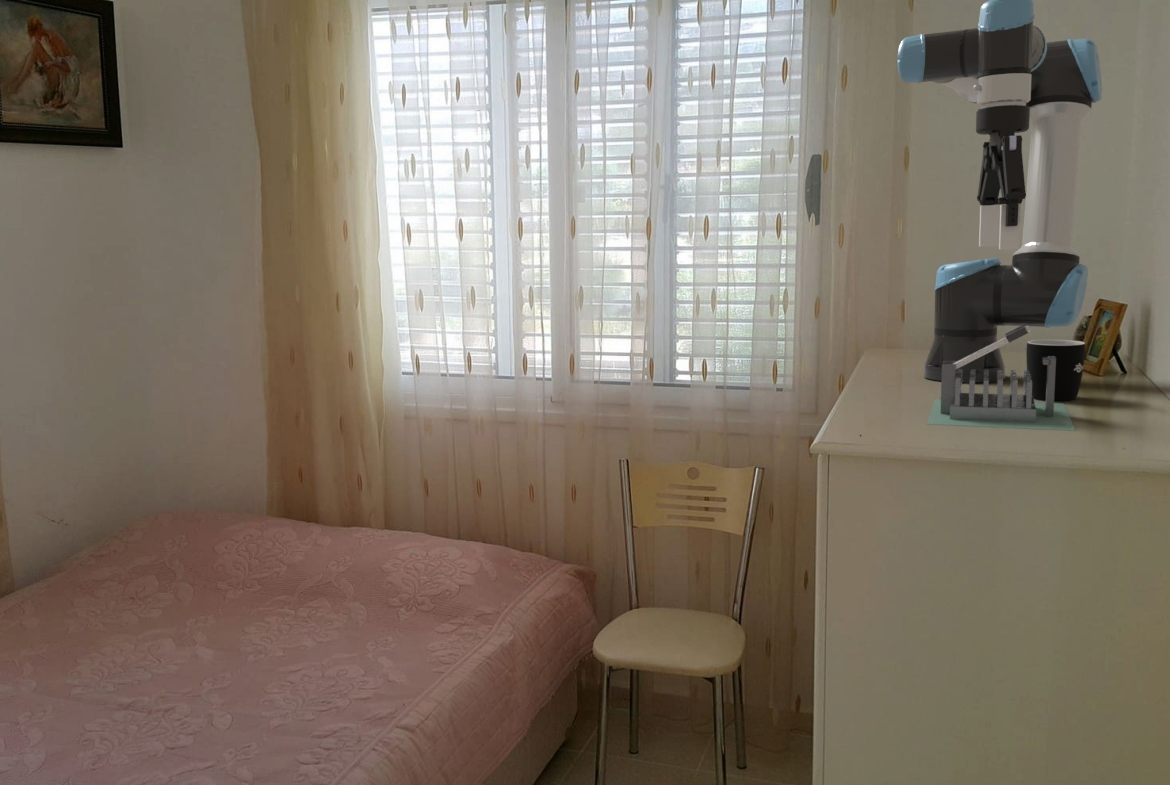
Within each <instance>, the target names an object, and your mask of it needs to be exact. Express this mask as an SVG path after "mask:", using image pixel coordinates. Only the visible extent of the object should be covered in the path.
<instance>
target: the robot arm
mask: <svg viewBox="0 0 1170 785" xmlns="http://www.w3.org/2000/svg"><path fill="white" fill-rule="evenodd" d="M1035 17H1036V16H1035V13H1034V2H1033V0H988V1H985V2H984V3H983V4H982V5H981V7H980V9H979V19H978V24H977V27H975V28H968V29H967V28H966V29H960V30H952V31H951V30H950V31H943V32H942V31H941V32H934V33H926V34H925V33H919V34H917V35H913V36H907V37H904V38H903V39H902V40H901V42H900V44H899V46H898V49H897V50H898V51H897V62H896V63H897V70H898V75H899V77H900V80H901V81H903V83H905V84H911V83H913V84H914V83H917V84H921V83H925V82H926V83H927V82H932V83H935V84H939V85H941V86H943V87H947V88H948V89H951V90H954V91H955V92H956V94H957V95H958V97H960V98H961V99H963V100H964V101H967V102H969V103H972V104H977V105H978V106H979V107H980V108H979V109H977V111H976V116H975V132H976V134H977V135H984V136H985V135H989V141H984V142H983V144H982V148H983V149H982V150H983V151H982V161H981V168H980V175H979V182H978V189H977V196H976V201H977V202H979V206H980V208H979V232H978V233H979V238H978V247H981V248H982V247H983V248H984V247H998V250H1016V251H1014V253H1013V254H1012V257H1011V258H1012V260H1011V264H1007V265H1004V264H1001V263H1002V262H1001V260H1000V258H999V257H994V258H986V259H984V258H983V259H979V260H971V261H964V262H963V261H962V262H956V263H955V262H954V263H948V264H943V265H941V266H940V267H939V268H938V269H937V271H936V275H935V276H936V279H935V287H934V289H933V290H934V291H935V292H934V326H933V329H934V331H933V332H934V333H933V334H934V335H933V341H932V344H931V347H930V349H929V352H928V354H927V356H926V357H927V358H926V360H925V363H924V366H923V377H924V378H926V379H928V380H933V381H940V382H941V381H942V364H943V361H959V360H961V359H963V358H965V357H967V356H969V355H971V354H973V353H975V352H977V351H979V350H980V349H982V348H984V347H986V346H988V345H990V344H992V343H994V342H996V341H998V327H999V326H1000V327H1001V326H1003V327H1004V326H1006V327H1020V326H1022V325H1024V326H1025V327H1026V326H1029V327H1041V328H1043V327H1044V328H1047V329H1050V328H1055V327H1056V328H1057V327H1058V328H1062V327H1065V328H1066V327H1069V326H1072V325H1073V324H1074V323H1076V321H1077V320H1078V318H1079V317H1080V314H1081V310H1082V308H1083V303H1084V299H1085V295H1086V290H1087V286H1088V285H1087V284H1088V274H1089V270H1088V267H1087V266H1086V265H1085V264H1083V263H1080V257H1081V255H1080V254H1078V252H1077V251H1076V250H1075V249H1074V248H1073V247H1072V246H1073V245H1072V244H1073V233H1074V232H1073V231H1074V221H1075V220H1074V219H1075V207H1076V193H1077V181H1078V180H1077V179H1078V170H1079V168H1078V166H1079V156H1080V141H1081V132H1082V131H1081V130H1082V121H1084V120H1085V119H1086V118H1087V117H1088V116H1090V114H1091V112H1092V106H1093V104H1096V103H1098V102H1100V101H1101V100H1102V97H1103V96H1102V93H1103V88H1102V87H1103V86H1102V75H1101V74H1102V72H1101V65H1100V64H1101V62H1100V57H1099V50H1098V47H1097V43H1096V42H1095V41H1093V40H1092V39H1089V38H1080V39H1079V38H1078V39H1077V38H1075V39H1070V38H1067V40H1066V39H1065V40H1058V41H1056V40H1055V41H1047V39H1046V37H1045V35H1044V33H1043V31H1042V30H1041V29H1040V28H1039V27H1038V26H1036V25H1034V20H1035ZM1030 123H1031V127H1030ZM1030 128H1031V130H1030V141H1029V153H1028V154H1029V156H1028V166H1027V167H1028V168H1027V176H1026V177H1027V180H1026V182H1025V172H1024V162H1023V148H1022V147H1023V136H1022V134H1021V135H1015V134H1019V133H1024V132H1027V131H1028V130H1029V129H1030ZM1000 194H1001V197H999V196H1000ZM1023 200H1025V203H1024V204H1025V206H1024V216H1023V218H1024V219H1023V227H1022V228H1023V229H1022V230H1023V231H1022V242H1021V247H1020V241H1021V240H1020V236H1021V213H1022V212H1021V208H1022V202H1023ZM958 369H962V383H969V382H970V373H971V369H975V383H984V370H989V383H990V382H991V383H992V382H997V370H1002V375H1003V380H1005V378H1006V366H1005V362H1004V359H1003V356H1002V352H1001V350H1000V347H999V348H997V349H995V350H993V351H991V352H989V353H987V354H985V355H983V356H981V357H979V358H977V359H975V360H973V361H972V362H970V363H968V364H966V365H964V366H962V367H960V368H958ZM958 369H956V375H957V371H958Z"/></svg>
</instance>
